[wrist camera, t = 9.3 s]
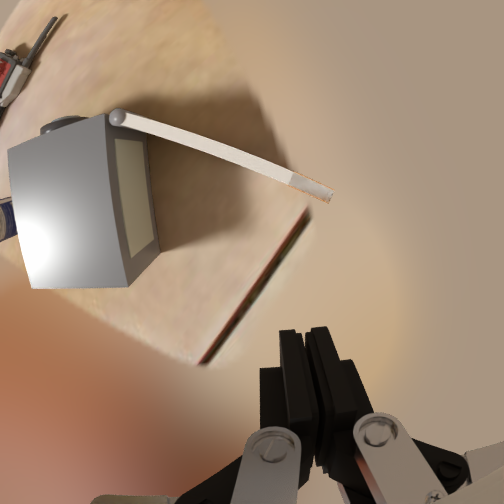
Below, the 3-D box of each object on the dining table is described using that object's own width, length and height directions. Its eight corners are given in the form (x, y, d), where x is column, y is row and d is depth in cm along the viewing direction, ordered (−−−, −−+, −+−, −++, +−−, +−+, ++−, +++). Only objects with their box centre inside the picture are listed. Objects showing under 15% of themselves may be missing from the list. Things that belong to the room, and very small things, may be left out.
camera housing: (57, 134, 26) (6, 133, 18) (145, 109, 26) (104, 93, 17) (75, 259, 31) (32, 288, 23) (161, 253, 31) (129, 287, 22)
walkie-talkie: (-1, 148, 27) (65, 21, 22) (-22, 150, 23) (47, 11, 18) (-23, 126, 25) (36, 11, 20) (-42, 127, 21) (20, 3, 16)
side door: (145, 131, 27) (106, 123, 18) (150, 118, 26) (112, 106, 18) (307, 192, 28) (327, 205, 20) (313, 179, 28) (335, 188, 20)
